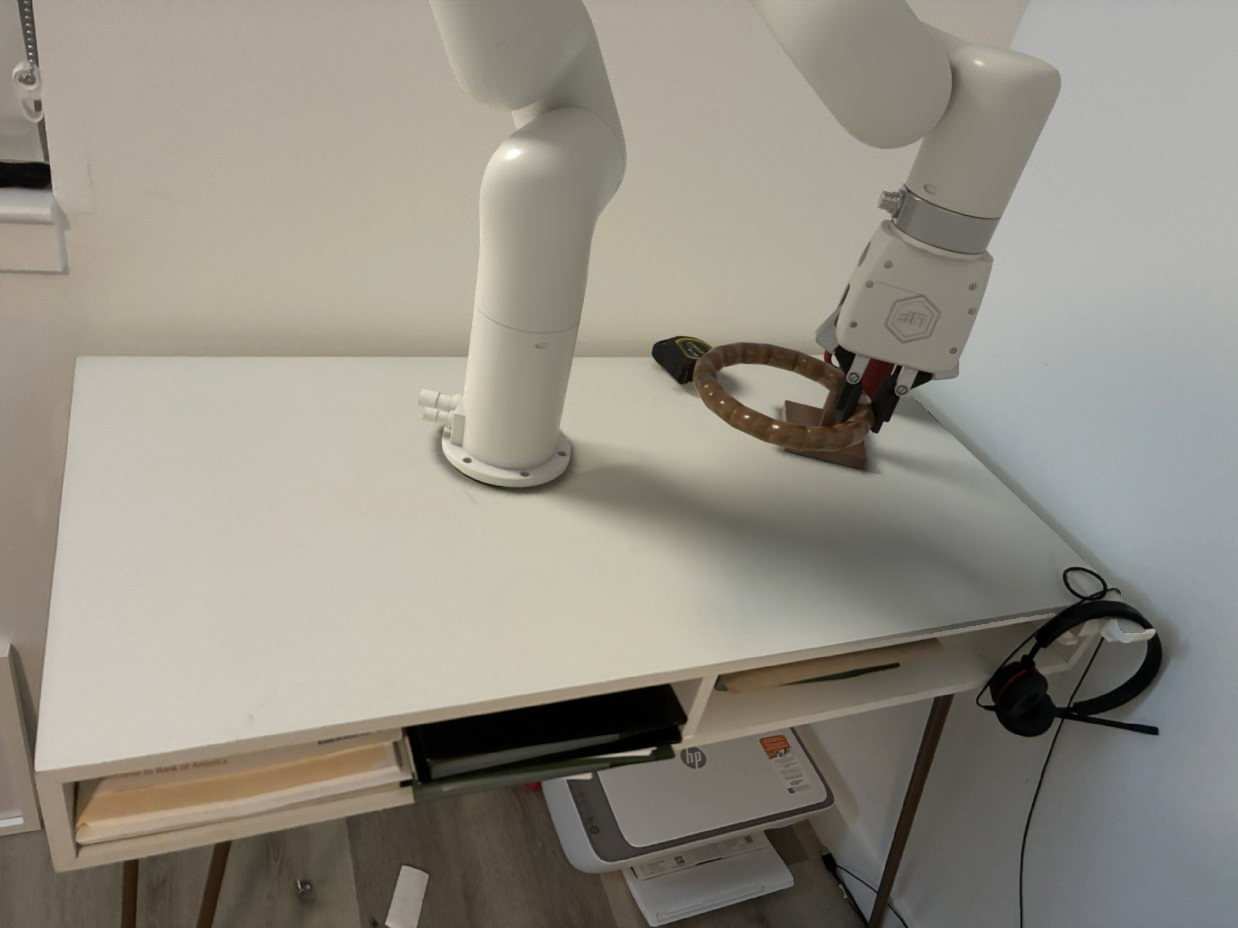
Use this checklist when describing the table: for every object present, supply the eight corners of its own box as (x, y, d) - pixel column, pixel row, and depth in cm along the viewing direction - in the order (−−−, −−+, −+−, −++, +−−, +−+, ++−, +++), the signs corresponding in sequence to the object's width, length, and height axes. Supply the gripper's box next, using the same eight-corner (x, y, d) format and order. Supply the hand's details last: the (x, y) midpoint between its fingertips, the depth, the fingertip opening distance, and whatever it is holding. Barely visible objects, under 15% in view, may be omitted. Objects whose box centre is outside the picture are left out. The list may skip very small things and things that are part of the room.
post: (783, 450, 101) (825, 334, 93) (781, 410, 109) (820, 299, 101) (862, 469, 101) (911, 354, 93) (855, 427, 109) (900, 318, 101)
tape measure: (646, 362, 112) (652, 335, 110) (692, 358, 115) (699, 331, 113) (674, 391, 107) (681, 363, 105) (721, 386, 110) (729, 359, 108)
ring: (686, 427, 74) (692, 407, 73) (696, 342, 87) (701, 324, 86) (878, 474, 74) (887, 453, 73) (859, 382, 87) (866, 363, 86)
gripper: (846, 211, 67) (769, 420, 77) (1056, 266, 67) (951, 467, 78) (839, 182, 73) (768, 378, 84) (1030, 232, 74) (937, 422, 84)
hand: (857, 419), depth 81 cm, fingers closed on ring, 2 cm apart
